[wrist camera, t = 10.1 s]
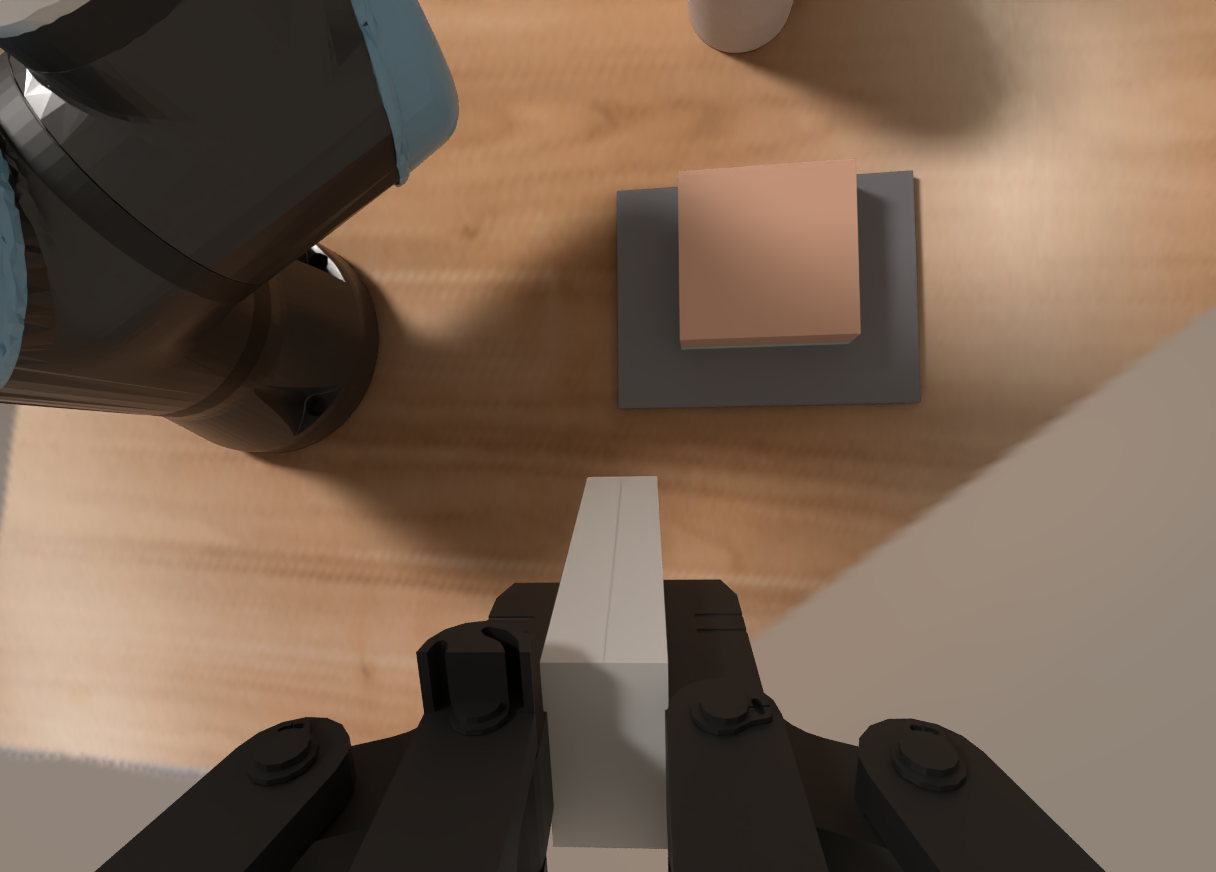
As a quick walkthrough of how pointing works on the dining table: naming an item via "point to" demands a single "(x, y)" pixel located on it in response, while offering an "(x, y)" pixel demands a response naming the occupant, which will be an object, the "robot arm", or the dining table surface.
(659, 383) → the mat
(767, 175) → the tile
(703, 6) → the coffee cup
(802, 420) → the dining table surface
